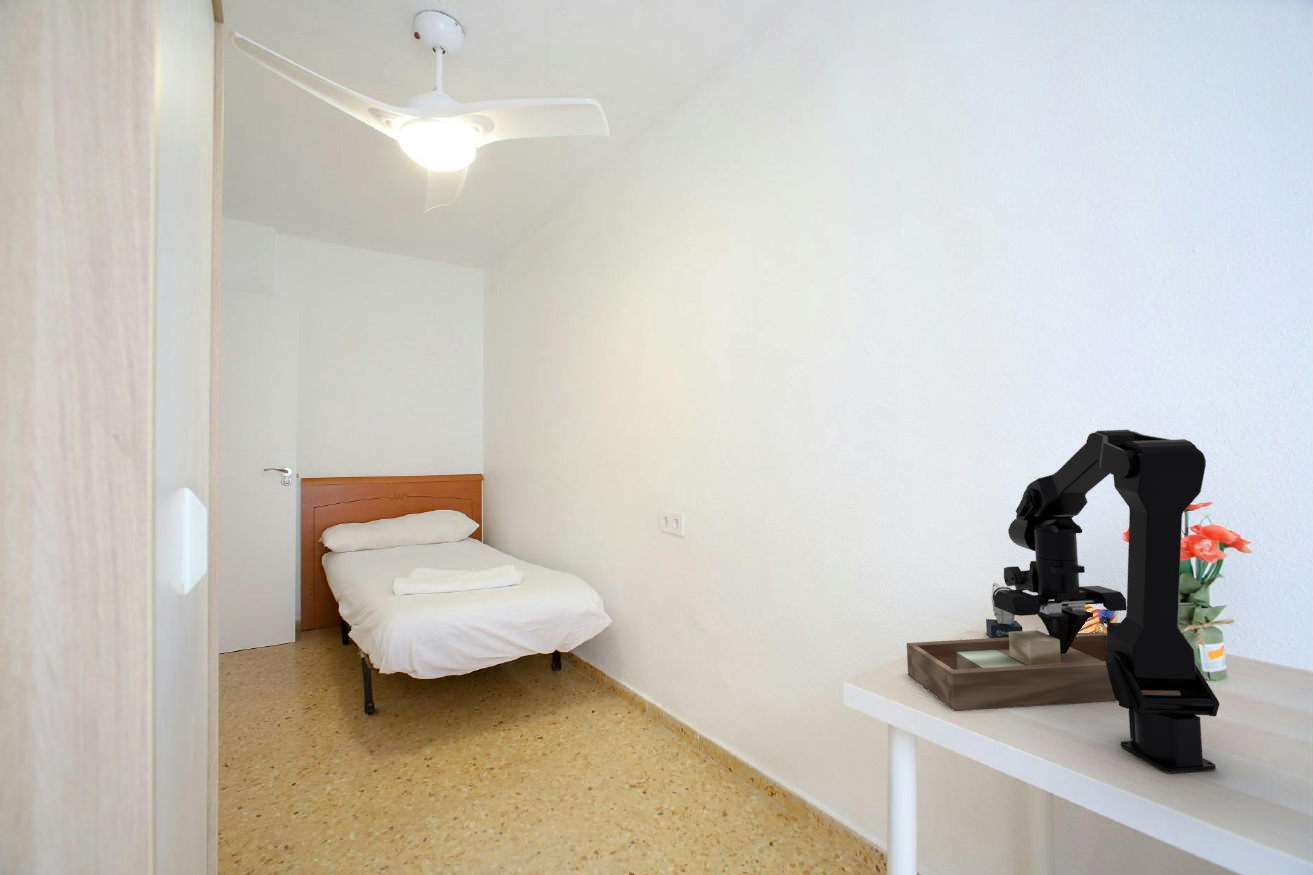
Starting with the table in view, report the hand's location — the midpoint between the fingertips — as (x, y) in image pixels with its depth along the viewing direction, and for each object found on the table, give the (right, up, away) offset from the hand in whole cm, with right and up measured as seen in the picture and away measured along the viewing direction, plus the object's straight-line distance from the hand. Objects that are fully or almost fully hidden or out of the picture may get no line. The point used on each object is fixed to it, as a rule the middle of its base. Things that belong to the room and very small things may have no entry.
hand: (1061, 652), depth 94 cm
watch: (+4, -6, +22) cm, 23 cm away
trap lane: (-4, -5, 0) cm, 7 cm away
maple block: (-5, -1, 0) cm, 5 cm away
